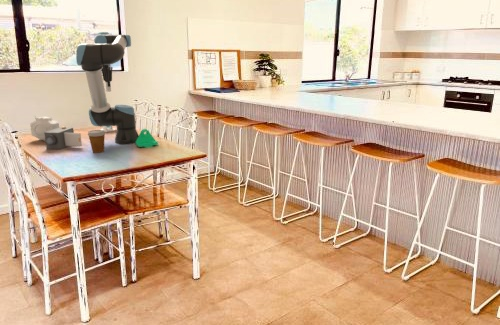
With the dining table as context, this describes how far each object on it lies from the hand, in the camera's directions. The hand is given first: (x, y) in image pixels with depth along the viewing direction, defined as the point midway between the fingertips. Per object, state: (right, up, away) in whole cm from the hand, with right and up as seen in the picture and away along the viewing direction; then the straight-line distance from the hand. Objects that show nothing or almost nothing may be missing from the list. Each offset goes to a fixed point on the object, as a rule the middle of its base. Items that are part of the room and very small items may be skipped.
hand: (108, 91), depth 280 cm
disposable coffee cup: (+9, -43, -43) cm, 61 cm away
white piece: (-8, -26, +18) cm, 32 cm away
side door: (-10, -39, -34) cm, 52 cm away
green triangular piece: (+34, -39, -30) cm, 60 cm away
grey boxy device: (-19, -39, -30) cm, 53 cm away
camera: (-35, -35, -15) cm, 52 cm away
